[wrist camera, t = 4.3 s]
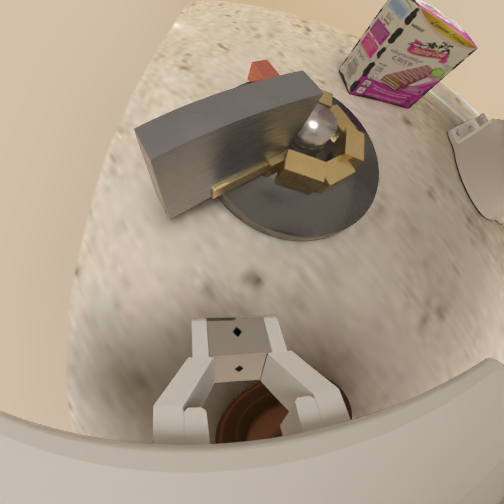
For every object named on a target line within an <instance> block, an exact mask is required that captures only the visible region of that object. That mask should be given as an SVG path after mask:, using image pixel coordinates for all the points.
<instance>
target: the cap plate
mask: <svg viewBox="0 0 504 504" xmlns="http://www.w3.org/2000/svg"><path fill="white" fill-rule="evenodd" d="M276 76H280V75H279V74H278V73H277V71H276V70H275V69H274V68H273V66H272V65H271V64H270V63H269V62H268V60H262V61H256V62H252V65H251V69H250V73H249V76H248V80H249V82H247V83H245V84H242V85H240V86H243V85H246V84H250V83H253V82H257V81H260V80H264V79H268V78H272V77H276ZM240 86H238V87H240ZM336 104H338V106H339V107H340V108H341V109H342V110H343V112H344V113H345V114H346V115H347V117H348V118H349V119H350V120H351V122H352V123H353V124H354V125H355V127H356V128H357V130H358V131H360V132H362V133H364V162H362V163H361V164H360V165H359V166H358V167H357V168H355V171H356V172H355V173H353V174H352V175H351V176H350V177H349V178H347V179H346V180H345V181H343V182H341V183H340V184H338V185H336V186H334V187H332V188H331V189H329V190H327V191H325V192H323V193H322V194H319V192H318V191H317V189H316V190H315V191H314V192H313V193H312V194H311V195H308V194H305V193H302V192H299V191H296V190H293V189H290V188H287V187H283V186H280V185H277V184H275V179H276V174H277V172H275V173H273V174H271V175H269V176H267V177H265V176H264V174H261V175H259V176H257V177H255V178H253V179H251V180H249V181H247V182H245V183H243V184H241V185H239V186H237V187H235V188H233V189H231V190H229V191H227V192H225V193H224V194H222V195H220V196H218V198H219V199H220V200H221V202H222V203H223V204H224V205H225V206H226V207H227V208H228V209H229V210H230V211H231V212H232V213H233V214H234V215H235V216H236V217H238V218H239V219H240V220H241V221H243V222H244V223H246V224H247V225H249V226H251V227H252V228H254V229H256V230H258V231H260V232H262V233H265V234H267V235H270V236H273V237H276V238H280V239H285V240H291V241H311V240H318V239H322V238H326V237H329V236H331V235H333V234H336V233H338V232H340V231H342V230H344V229H346V228H348V227H349V226H351V225H352V224H354V223H355V222H357V221H358V220H359V219H360V218H361V217H362V216H363V215H364V214H365V213H366V211H367V210H368V209H369V207H370V206H371V204H372V202H373V200H374V197H375V194H376V191H377V187H378V180H379V169H378V161H377V156H376V152H375V149H374V147H373V144H372V142H371V140H370V137H369V135H368V134H367V132H366V130H365V129H364V127H363V126H362V124H361V123H360V122H359V120H358V119H357V118H356V117H355V116H354V115H353V113H352V112H351V111H350V110H349V109H348V108H346V107H345V106H344V105H343V104H342V103H341V102H339V101H338V100H337V99H335V98H334V97H332V106H333V105H336ZM336 131H337V120H336V118H335V116H334V115H333V113H332V112H331V111H330V110H329V109H327V108H326V107H325V106H323V105H321V104H319V103H317V105H316V107H315V108H314V110H313V111H312V113H311V114H310V116H309V118H308V119H307V121H306V122H305V124H304V126H303V127H302V129H301V130H300V132H299V134H298V135H297V137H296V139H295V140H294V142H293V143H292V145H291V147H290V148H289V149H290V150H293V151H296V152H299V153H302V154H305V155H308V156H311V157H314V158H316V159H319V160H322V161H325V162H327V161H329V160H331V159H332V155H333V144H334V143H333V141H332V140H331V139H330V138H331V137H332V136H333V135H334V134H335V132H336Z"/></svg>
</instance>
